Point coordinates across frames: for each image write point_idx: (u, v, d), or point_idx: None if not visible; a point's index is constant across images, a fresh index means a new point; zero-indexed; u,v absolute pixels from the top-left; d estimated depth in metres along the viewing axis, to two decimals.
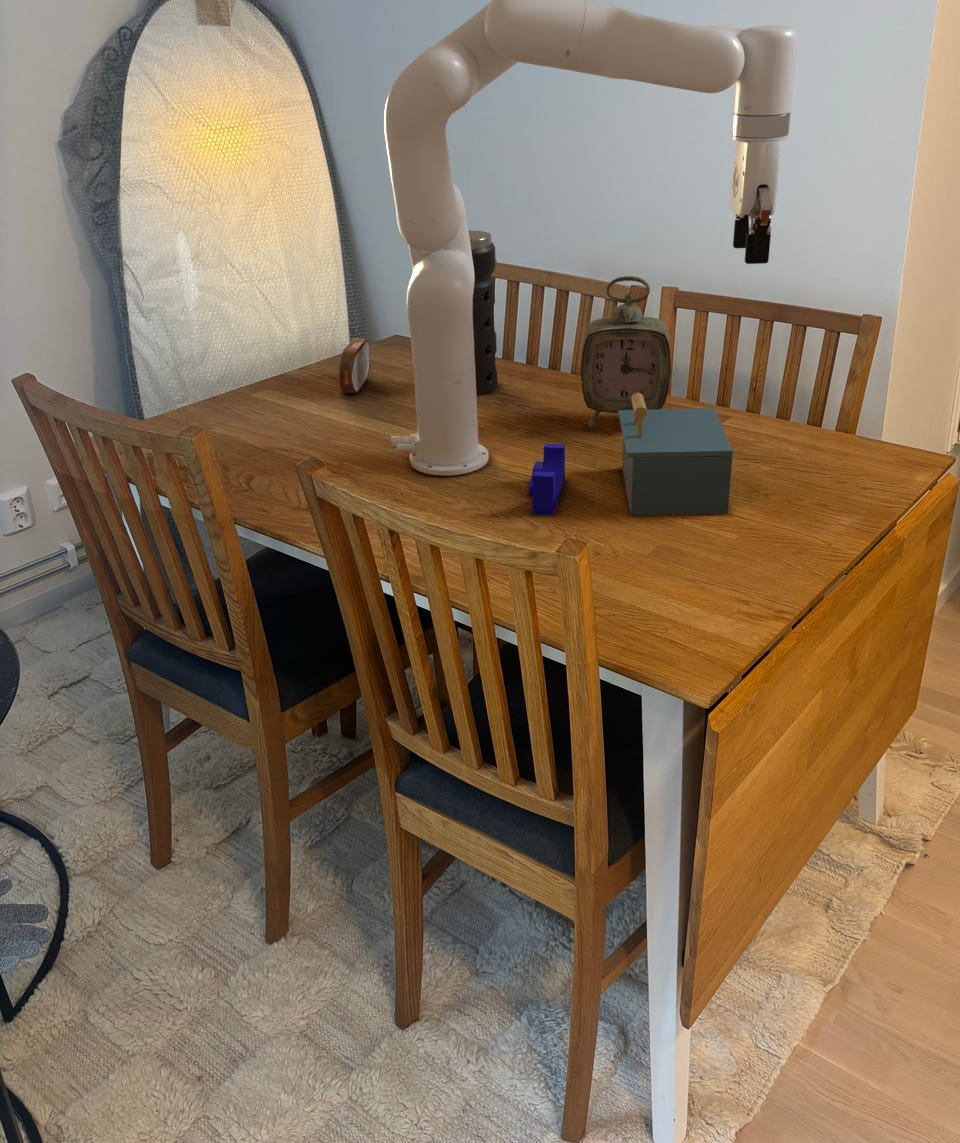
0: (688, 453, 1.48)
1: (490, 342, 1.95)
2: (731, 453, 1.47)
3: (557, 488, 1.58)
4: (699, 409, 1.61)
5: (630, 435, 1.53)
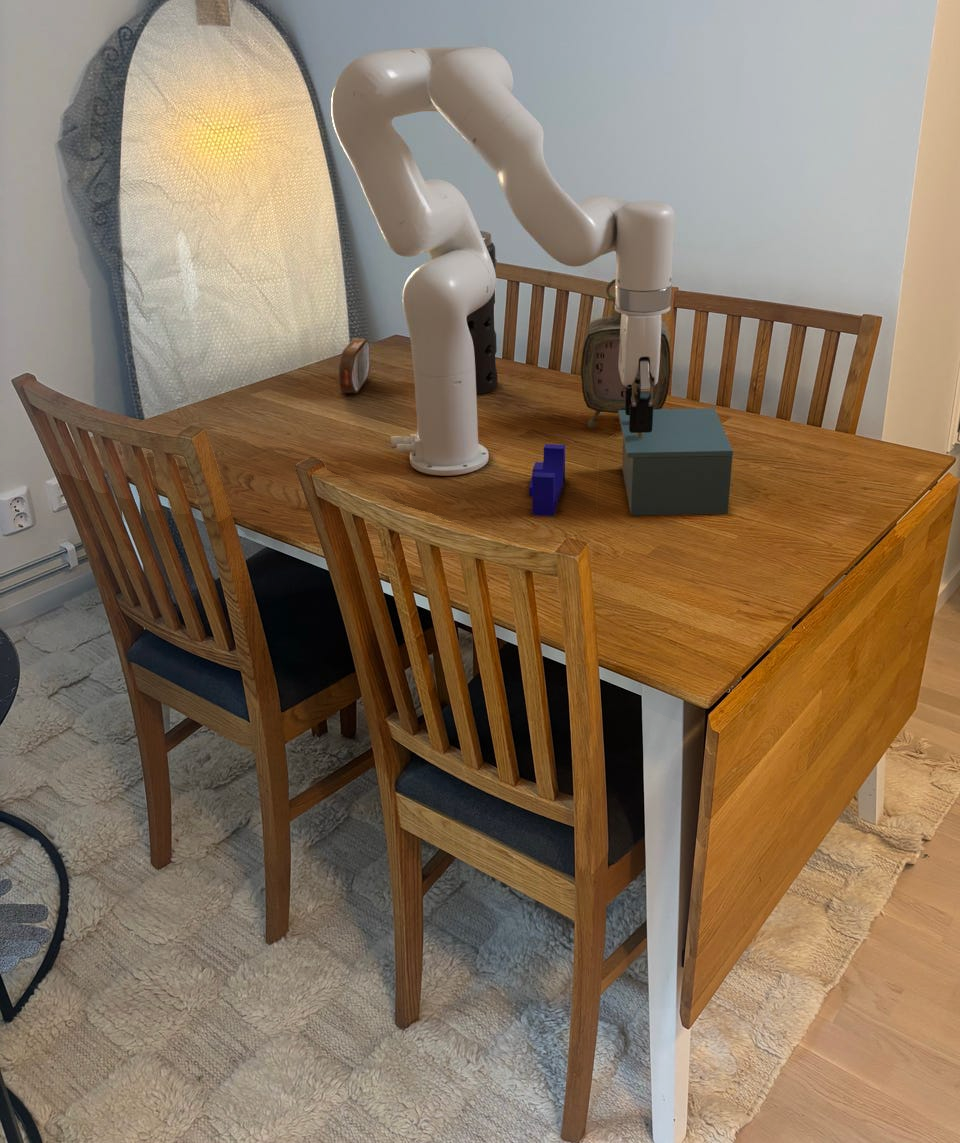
0: (688, 453, 1.48)
1: (490, 342, 1.95)
2: (731, 453, 1.47)
3: (557, 489, 1.58)
4: (699, 409, 1.61)
5: (630, 435, 1.53)
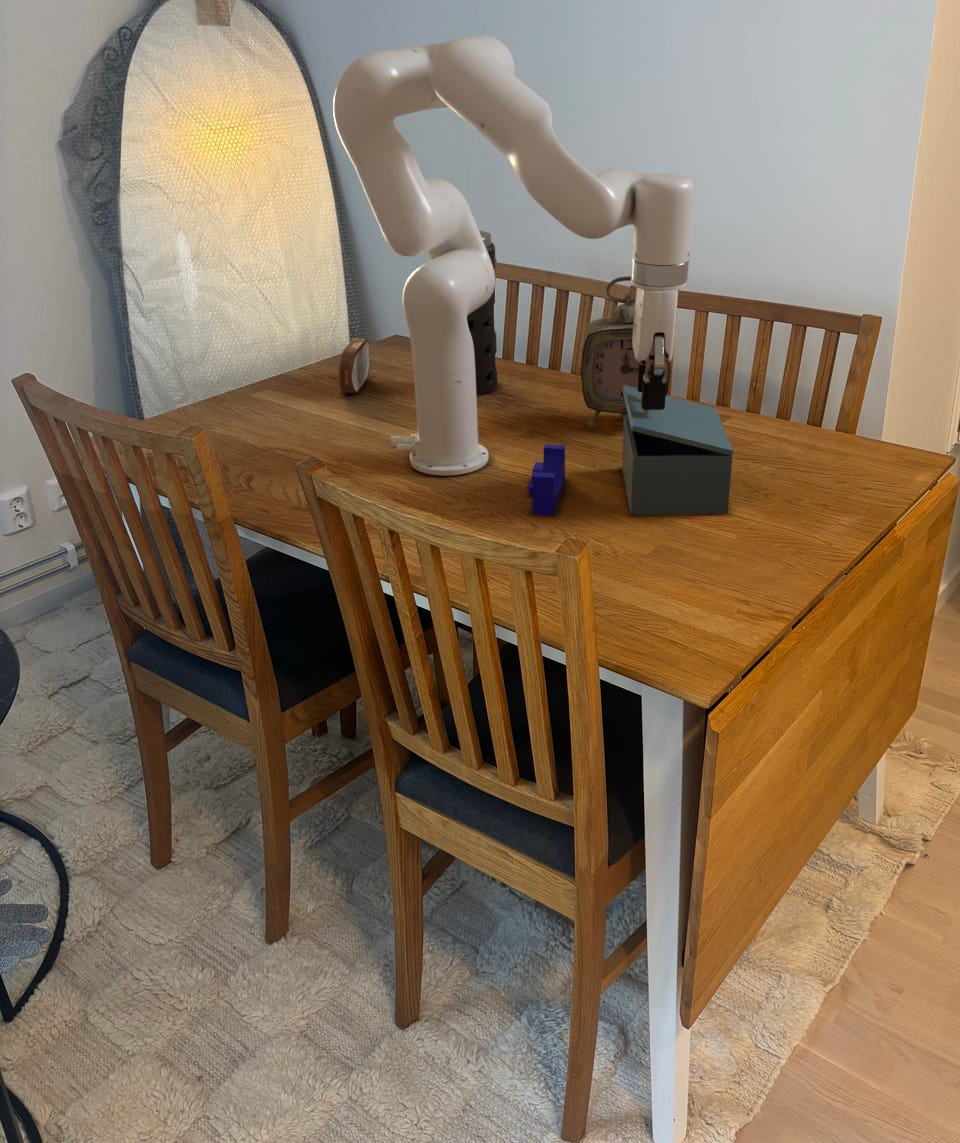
0: (691, 442, 1.47)
1: (490, 342, 1.95)
2: (731, 453, 1.47)
3: (557, 489, 1.58)
4: (701, 405, 1.61)
5: (635, 410, 1.51)
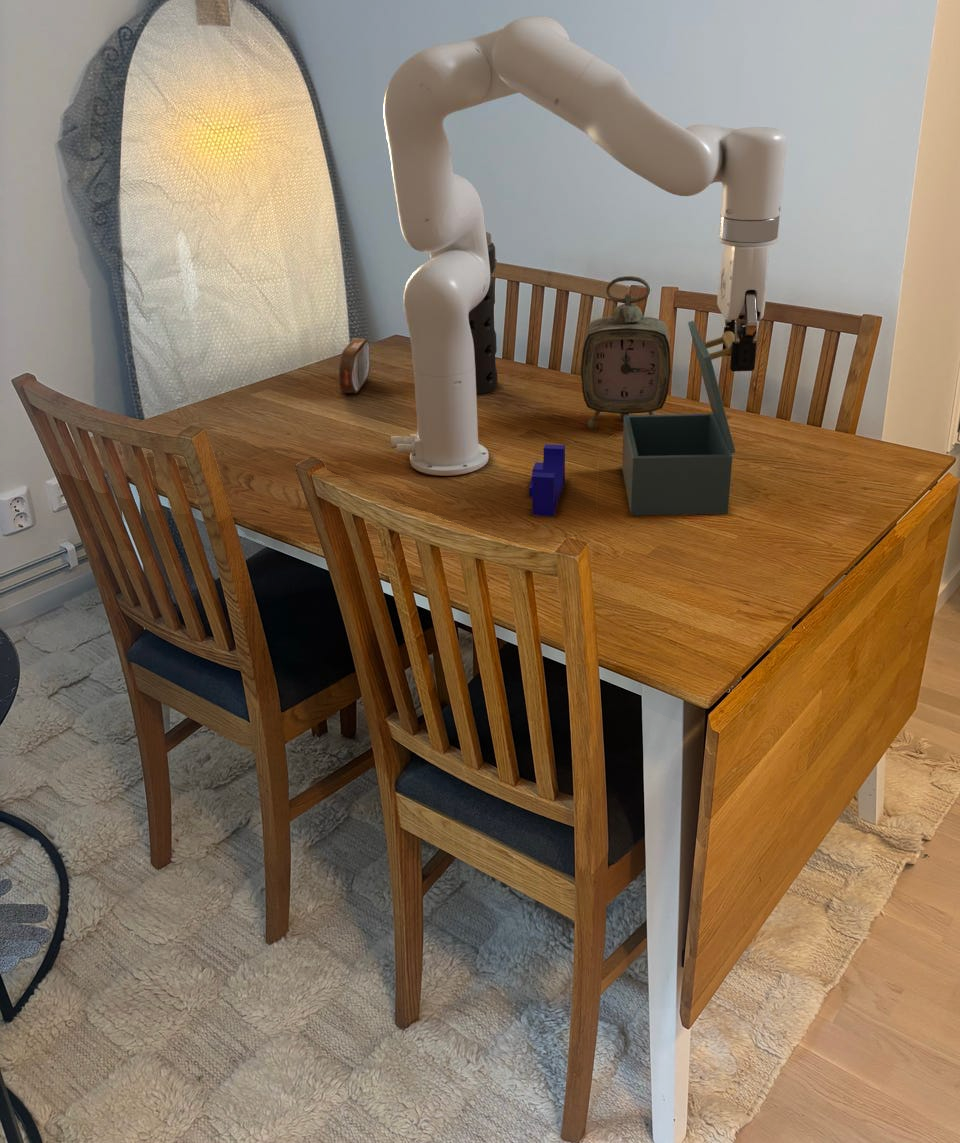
0: (723, 413, 1.45)
1: (490, 342, 1.95)
2: (732, 452, 1.47)
3: (557, 489, 1.58)
4: None
5: None
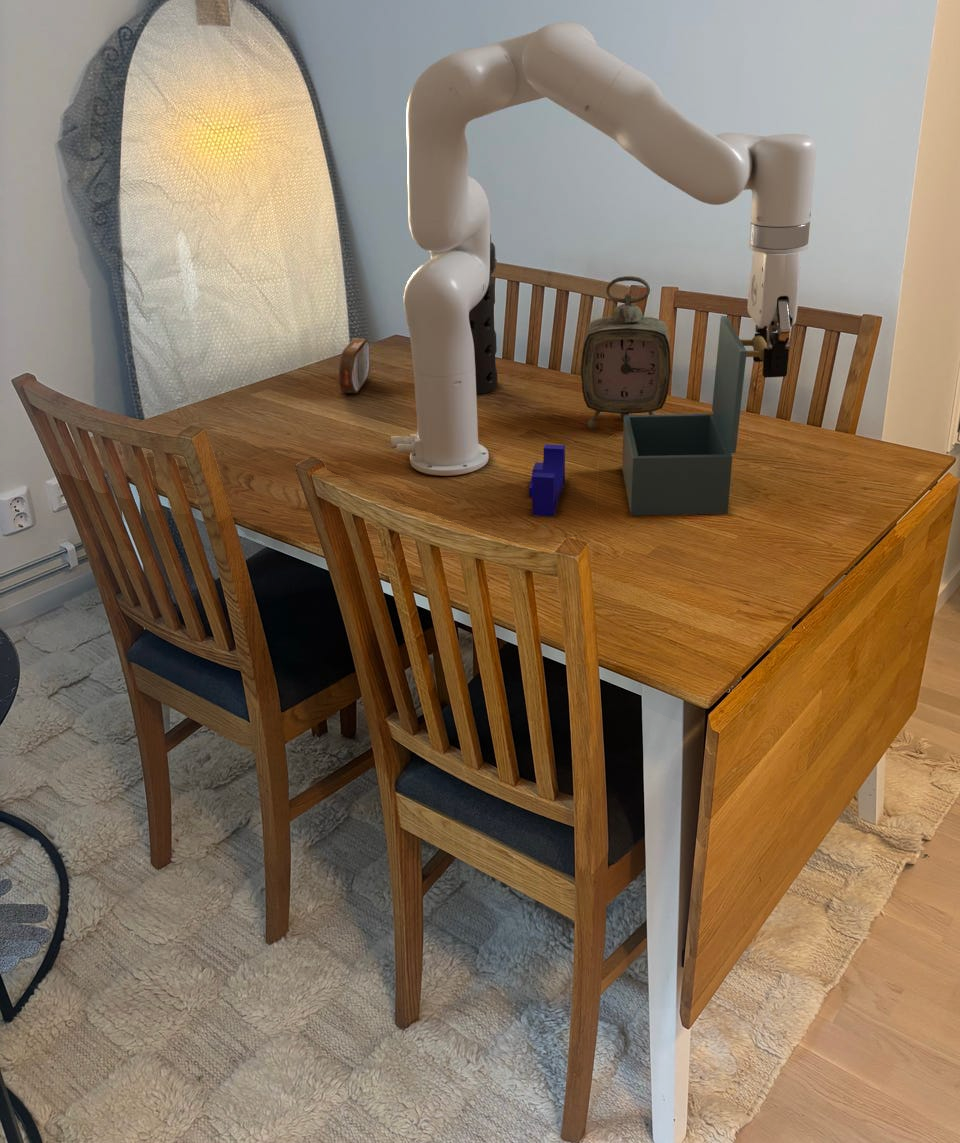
0: (738, 411, 1.44)
1: (490, 342, 1.95)
2: (732, 452, 1.47)
3: (557, 489, 1.58)
4: None
5: None
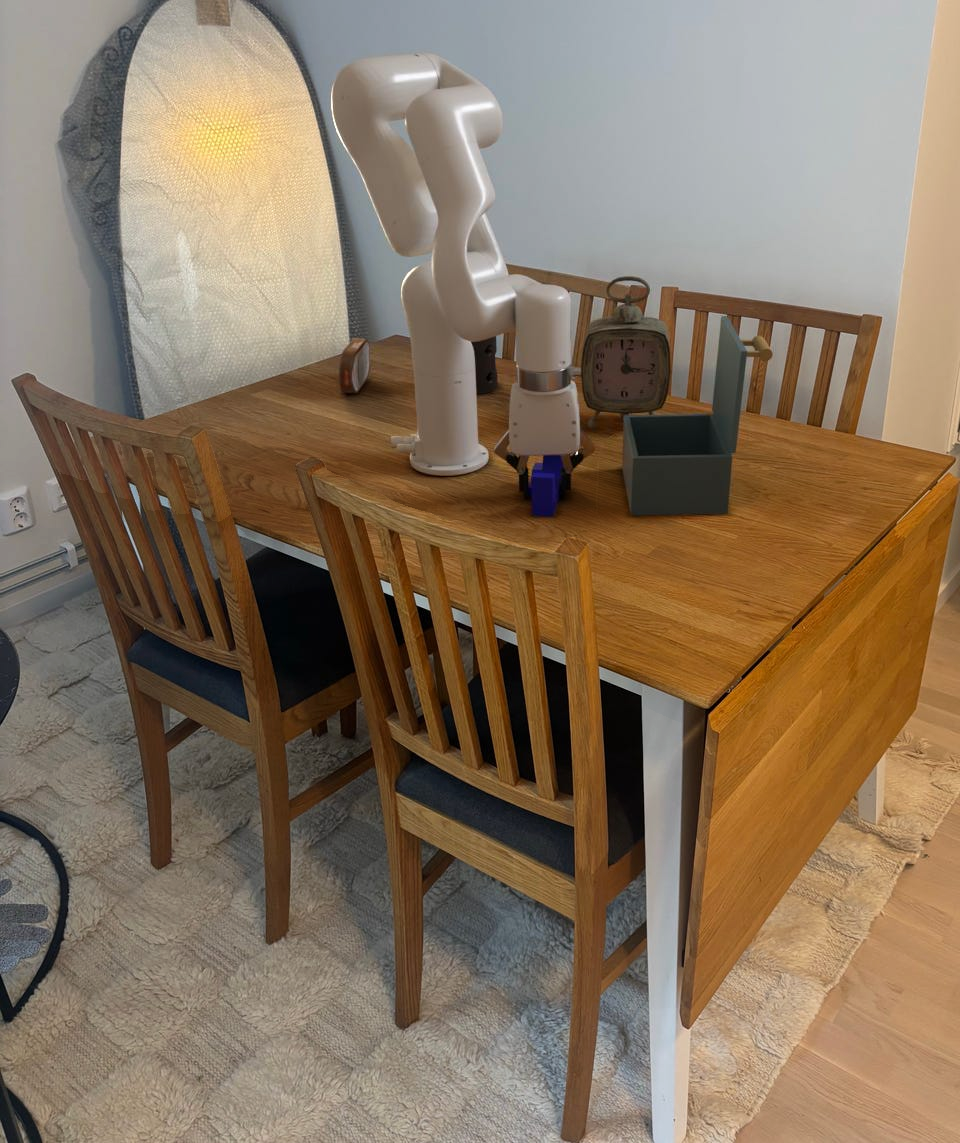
0: (738, 411, 1.44)
1: (490, 342, 1.95)
2: (732, 452, 1.47)
3: (556, 489, 1.57)
4: None
5: None
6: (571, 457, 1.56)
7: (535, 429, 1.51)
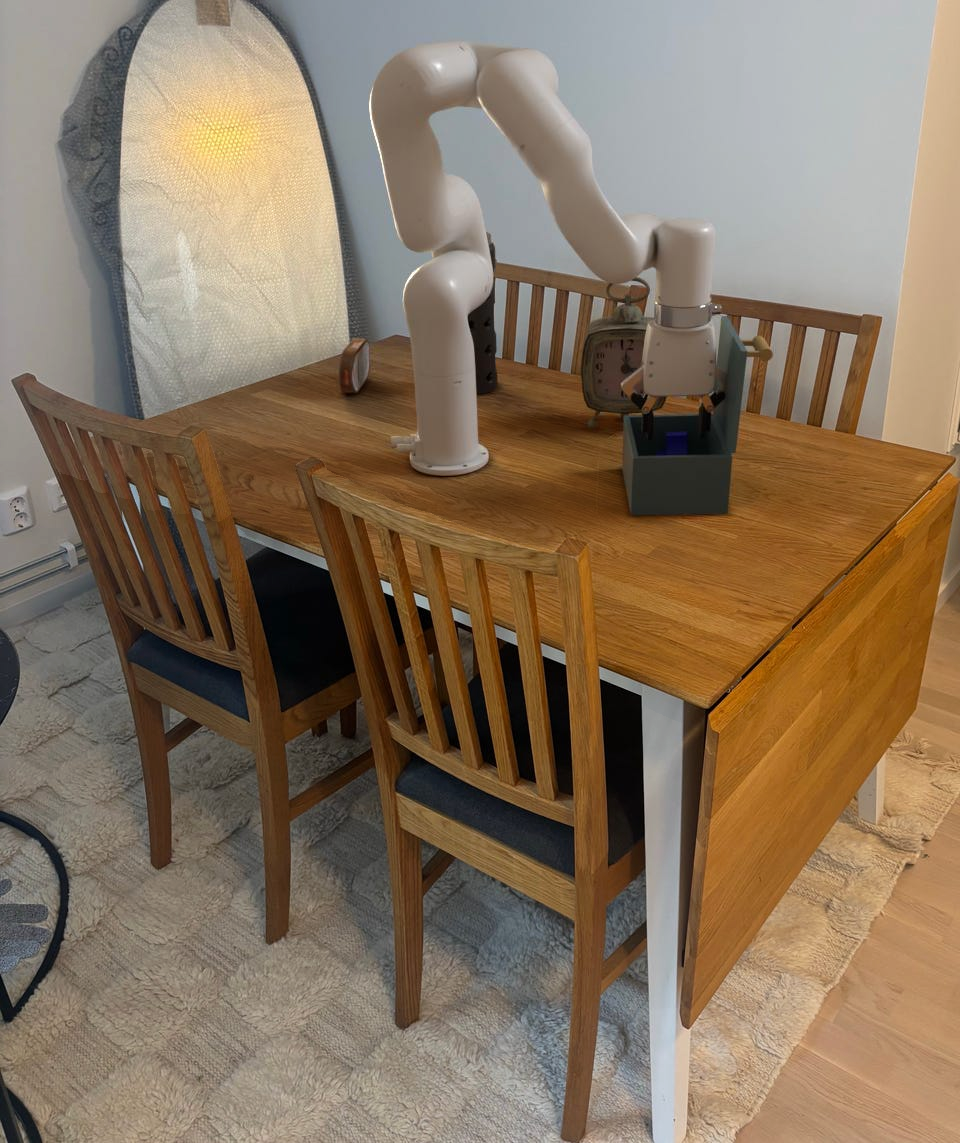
0: (738, 411, 1.44)
1: (490, 342, 1.95)
2: (732, 452, 1.47)
3: None
4: None
5: None
6: (712, 396, 1.52)
7: (672, 368, 1.48)
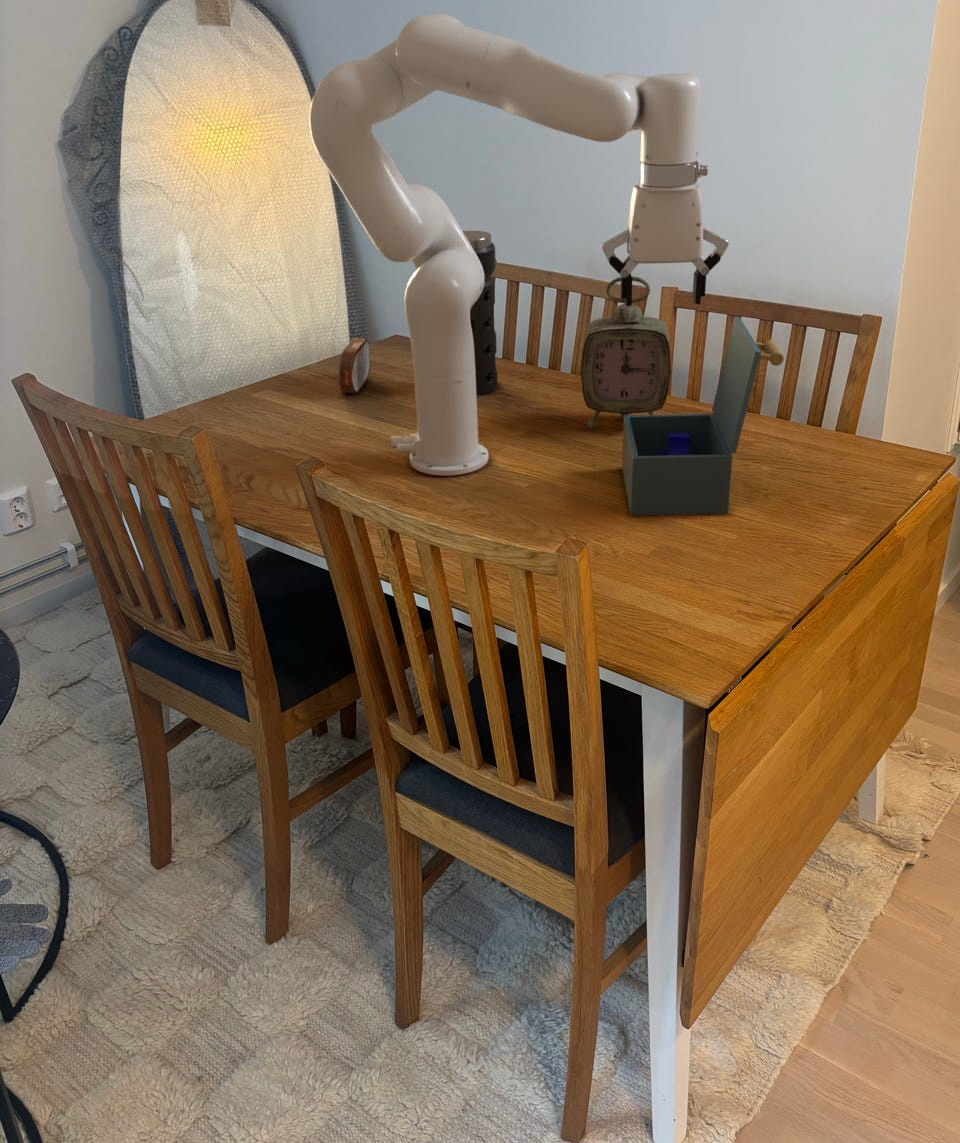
0: (744, 412, 1.44)
1: (490, 342, 1.95)
2: (733, 452, 1.47)
3: None
4: None
5: None
6: (706, 259, 1.49)
7: (658, 232, 1.45)
